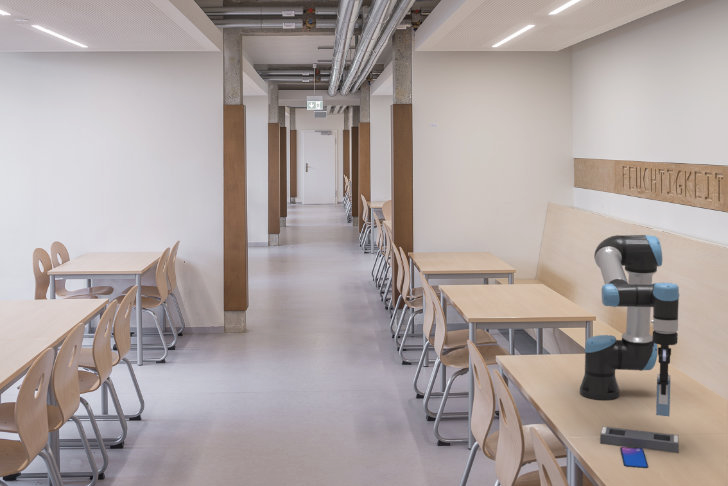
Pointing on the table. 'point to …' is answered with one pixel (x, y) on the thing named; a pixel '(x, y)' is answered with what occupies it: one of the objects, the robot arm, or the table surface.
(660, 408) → the plug
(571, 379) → the table surface
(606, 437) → the panel
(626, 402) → the table surface
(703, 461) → the table surface
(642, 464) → the smartphone
